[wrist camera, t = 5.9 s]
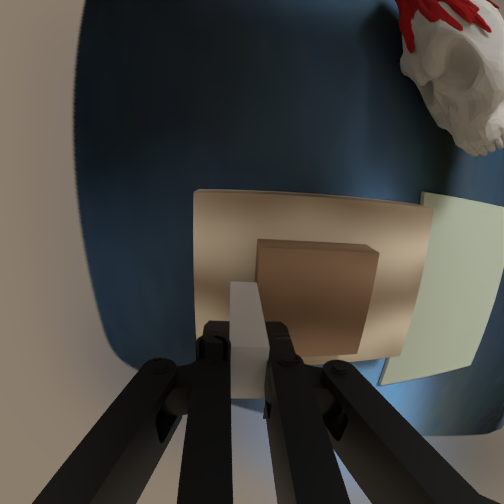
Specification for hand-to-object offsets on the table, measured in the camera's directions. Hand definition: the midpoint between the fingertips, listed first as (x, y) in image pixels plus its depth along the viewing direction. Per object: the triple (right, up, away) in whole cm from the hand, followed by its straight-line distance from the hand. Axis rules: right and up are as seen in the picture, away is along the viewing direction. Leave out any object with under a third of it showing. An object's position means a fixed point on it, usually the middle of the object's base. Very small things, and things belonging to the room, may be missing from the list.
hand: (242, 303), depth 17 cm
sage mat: (+20, -1, +6) cm, 21 cm away
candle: (+15, +19, 0) cm, 24 cm away
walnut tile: (+4, 0, +2) cm, 4 cm away
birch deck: (+5, +1, +4) cm, 6 cm away
